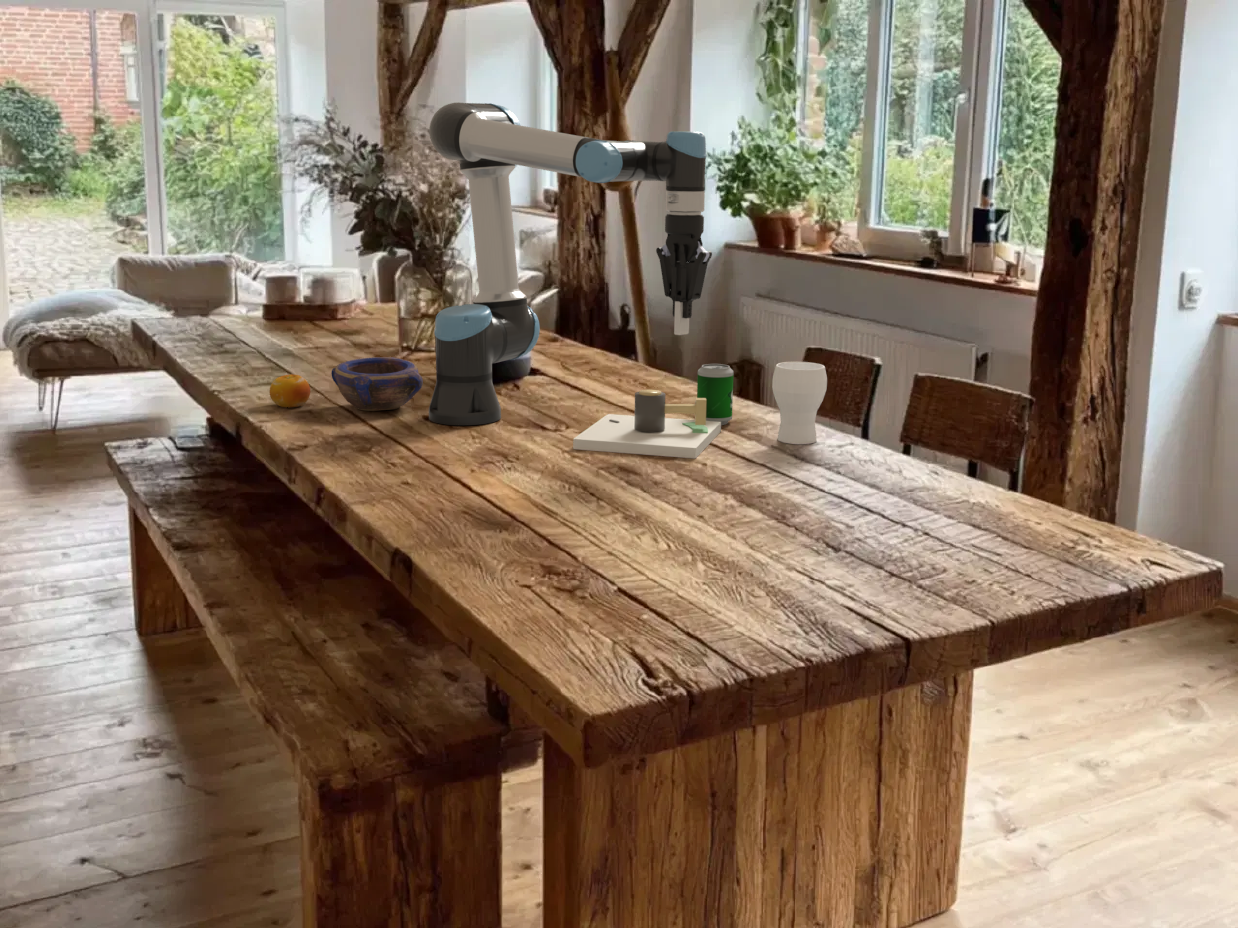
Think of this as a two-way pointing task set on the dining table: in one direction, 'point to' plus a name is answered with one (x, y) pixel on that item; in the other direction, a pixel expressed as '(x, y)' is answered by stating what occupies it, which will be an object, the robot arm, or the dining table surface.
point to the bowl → (377, 382)
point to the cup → (798, 399)
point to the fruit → (290, 391)
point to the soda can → (716, 391)
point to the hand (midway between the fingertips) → (681, 334)
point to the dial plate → (647, 437)
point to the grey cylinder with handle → (663, 410)
